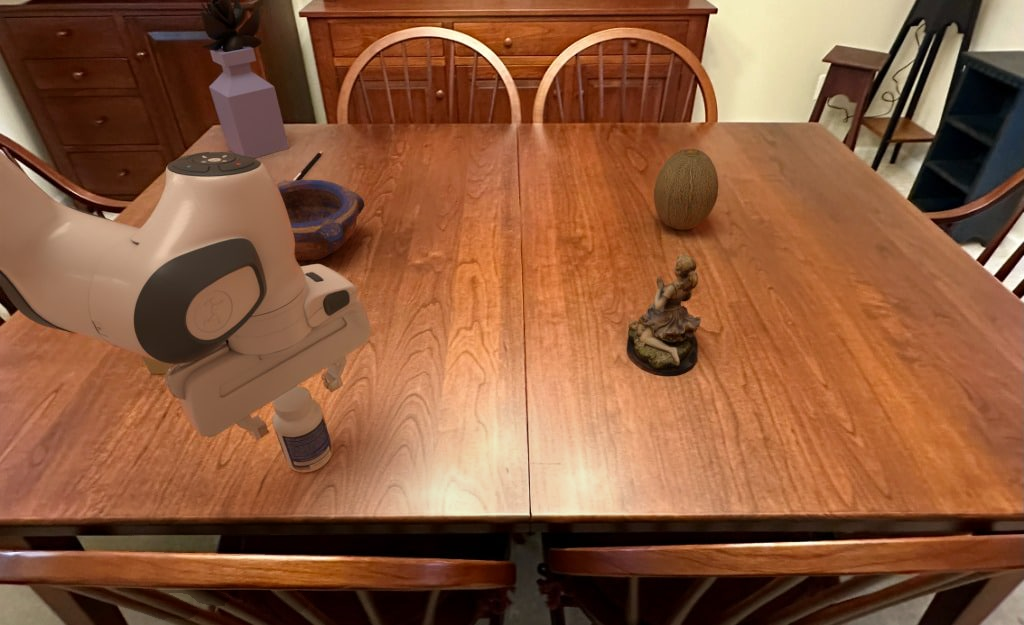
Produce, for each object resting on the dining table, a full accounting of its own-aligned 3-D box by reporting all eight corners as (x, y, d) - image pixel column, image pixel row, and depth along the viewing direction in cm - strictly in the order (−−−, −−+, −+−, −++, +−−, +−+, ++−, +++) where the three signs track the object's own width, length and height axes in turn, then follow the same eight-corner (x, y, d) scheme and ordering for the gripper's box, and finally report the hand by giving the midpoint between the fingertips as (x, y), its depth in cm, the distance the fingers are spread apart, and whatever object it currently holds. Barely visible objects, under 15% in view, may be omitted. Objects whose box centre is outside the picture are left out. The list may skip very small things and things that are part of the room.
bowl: (339, 281, 101) (328, 229, 94) (241, 270, 103) (224, 218, 97) (379, 228, 114) (371, 180, 108) (292, 219, 117) (280, 171, 111)
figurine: (649, 313, 93) (663, 228, 84) (714, 342, 88) (738, 255, 79) (607, 352, 86) (618, 264, 77) (676, 386, 81) (697, 296, 72)
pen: (288, 189, 128) (287, 184, 127) (320, 153, 143) (319, 148, 142) (292, 189, 128) (291, 184, 127) (324, 153, 143) (323, 148, 142)
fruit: (718, 222, 116) (736, 147, 107) (695, 247, 109) (712, 169, 100) (663, 205, 121) (675, 133, 112) (638, 228, 114) (649, 153, 105)
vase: (278, 132, 153) (240, -24, 132) (300, 144, 147) (263, -18, 125) (223, 147, 146) (172, -16, 124) (243, 161, 139) (193, -8, 118)
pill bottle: (343, 450, 73) (327, 392, 67) (309, 481, 69) (289, 423, 63) (311, 431, 75) (293, 374, 69) (277, 461, 71) (255, 403, 65)
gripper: (174, 384, 51) (224, 484, 60) (368, 279, 63) (387, 375, 72) (142, 351, 54) (194, 450, 63) (333, 258, 66) (355, 351, 75)
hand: (298, 409), depth 67 cm, fingers open, 8 cm apart
